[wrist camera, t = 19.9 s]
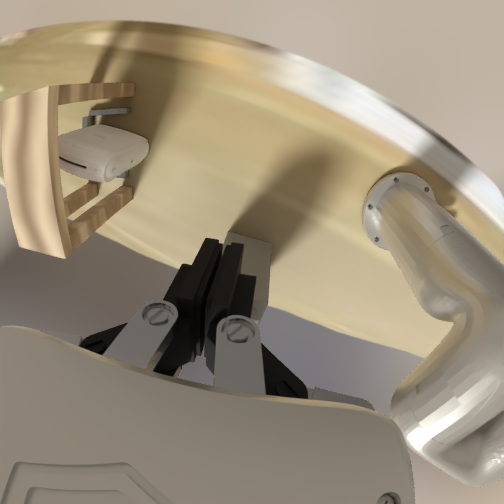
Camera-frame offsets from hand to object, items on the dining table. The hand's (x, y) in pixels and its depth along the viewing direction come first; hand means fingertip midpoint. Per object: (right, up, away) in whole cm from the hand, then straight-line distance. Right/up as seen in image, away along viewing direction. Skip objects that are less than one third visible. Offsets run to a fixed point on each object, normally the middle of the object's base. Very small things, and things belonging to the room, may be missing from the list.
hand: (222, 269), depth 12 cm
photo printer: (-18, +17, +23) cm, 34 cm away
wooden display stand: (-20, +17, +23) cm, 35 cm away
